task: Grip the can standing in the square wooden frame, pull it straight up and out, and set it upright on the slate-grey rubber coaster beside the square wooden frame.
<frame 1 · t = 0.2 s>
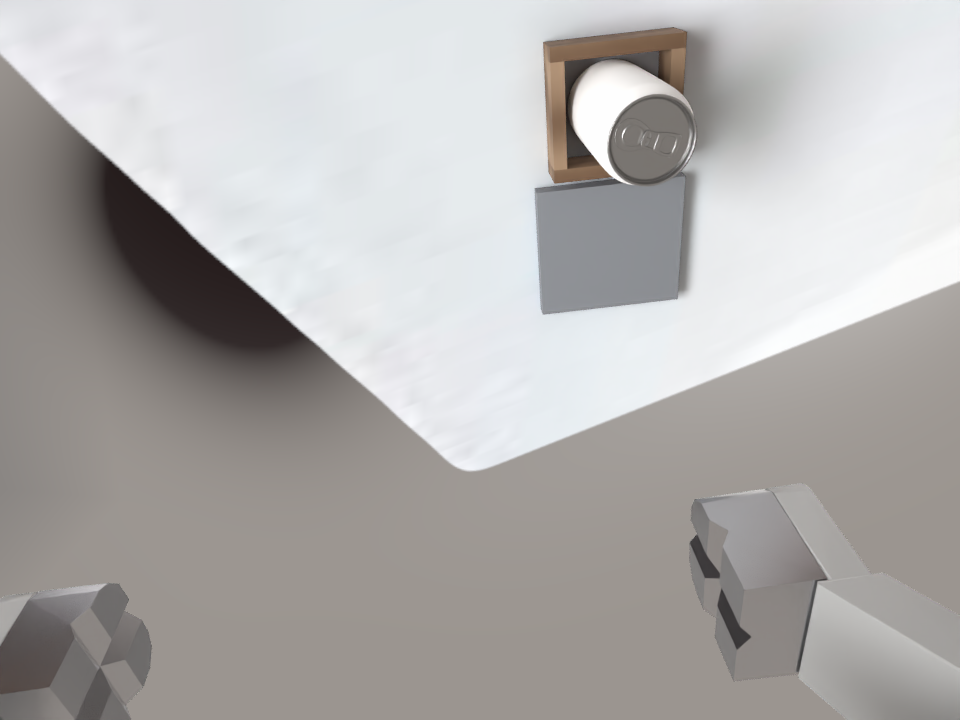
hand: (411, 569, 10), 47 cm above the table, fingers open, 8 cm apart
square wooden frame: (608, 103, 52), on the table
coaster: (607, 243, 58), on the table
can: (607, 102, 52), resting in square wooden frame
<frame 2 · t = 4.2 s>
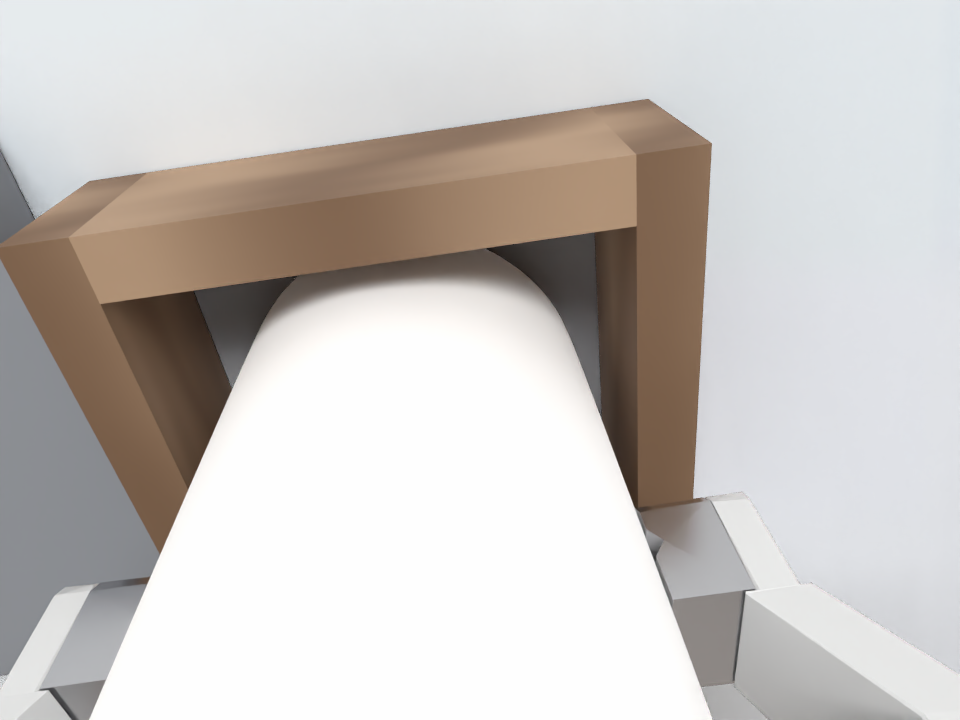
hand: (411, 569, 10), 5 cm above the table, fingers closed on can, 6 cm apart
square wooden frame: (417, 374, 14), on the table
can: (417, 369, 14), resting in square wooden frame, touching gripper
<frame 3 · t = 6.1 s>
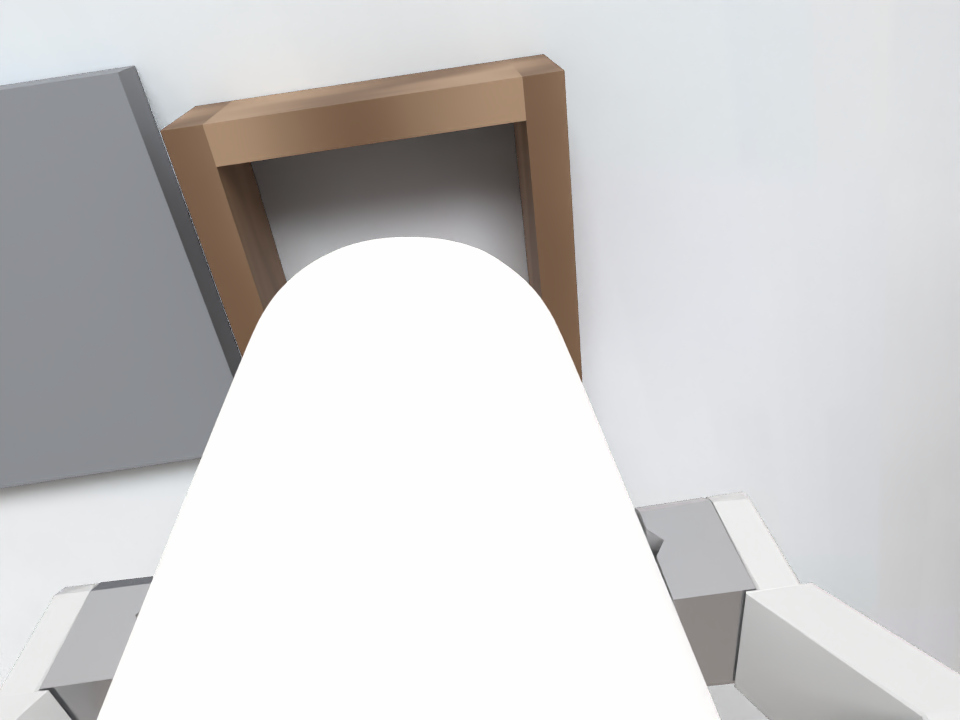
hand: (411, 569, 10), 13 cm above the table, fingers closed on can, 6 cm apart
square wooden frame: (402, 244, 21), on the table
coaster: (33, 300, 21), on the table
can: (410, 368, 14), point 8 cm above the table, touching gripper
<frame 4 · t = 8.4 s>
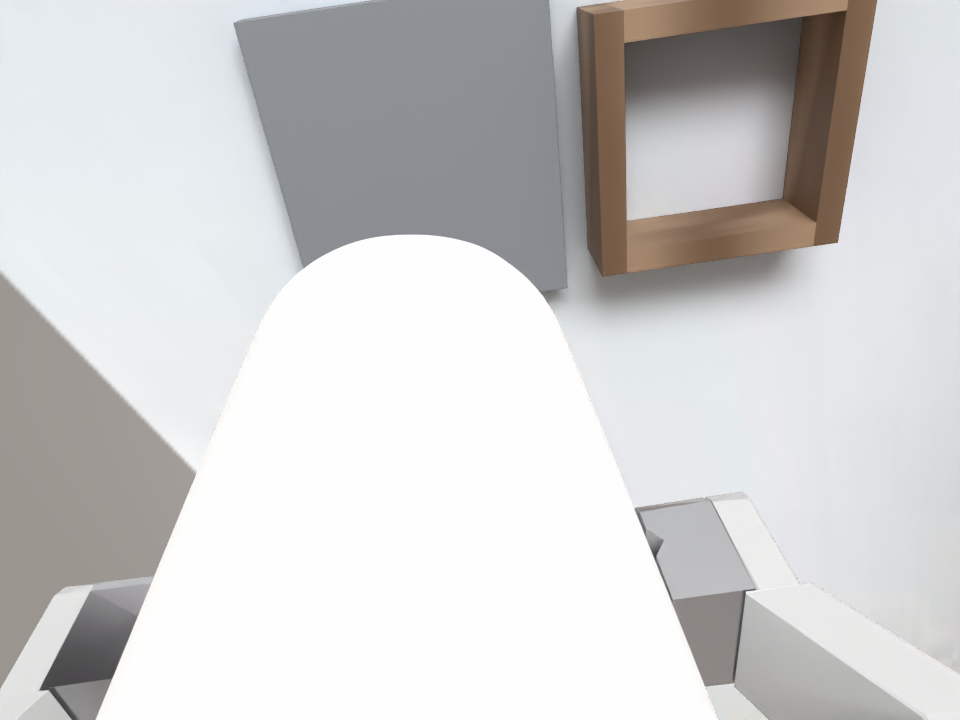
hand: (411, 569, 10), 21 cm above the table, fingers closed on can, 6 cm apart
square wooden frame: (700, 121, 28), on the table
coaster: (420, 162, 28), on the table
can: (413, 365, 15), point 16 cm above the table, touching gripper
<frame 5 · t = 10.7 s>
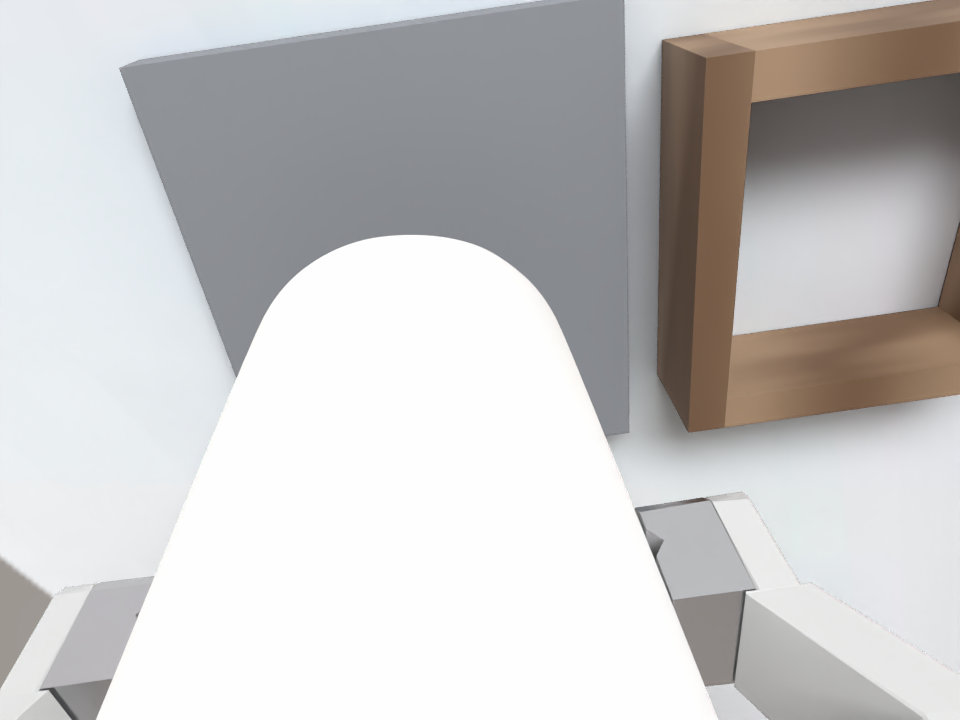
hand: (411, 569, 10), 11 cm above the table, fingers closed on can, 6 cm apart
square wooden frame: (832, 204, 19), on the table
coaster: (419, 263, 19), on the table
can: (412, 365, 15), point 5 cm above the table, touching gripper
when the fingers open (7 cm above the table, at t = 12.7 s): can stays where it is, resting on coaster.
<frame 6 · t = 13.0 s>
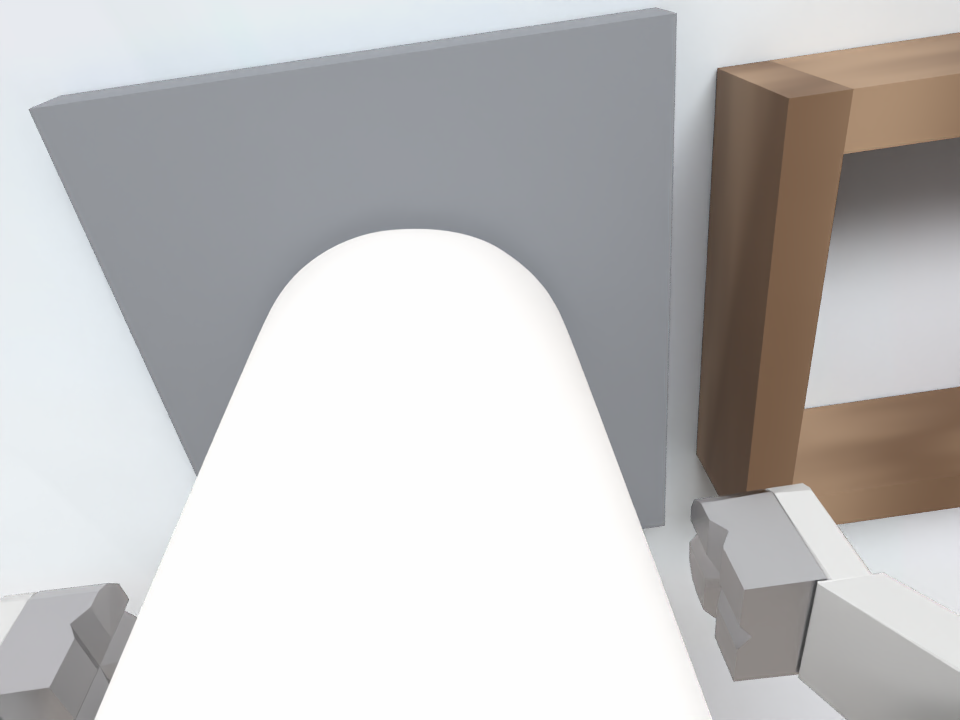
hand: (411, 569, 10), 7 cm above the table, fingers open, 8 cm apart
square wooden frame: (914, 262, 15), on the table
coaster: (415, 334, 16), on the table
can: (417, 358, 15), point 1 cm above the table, touching coaster
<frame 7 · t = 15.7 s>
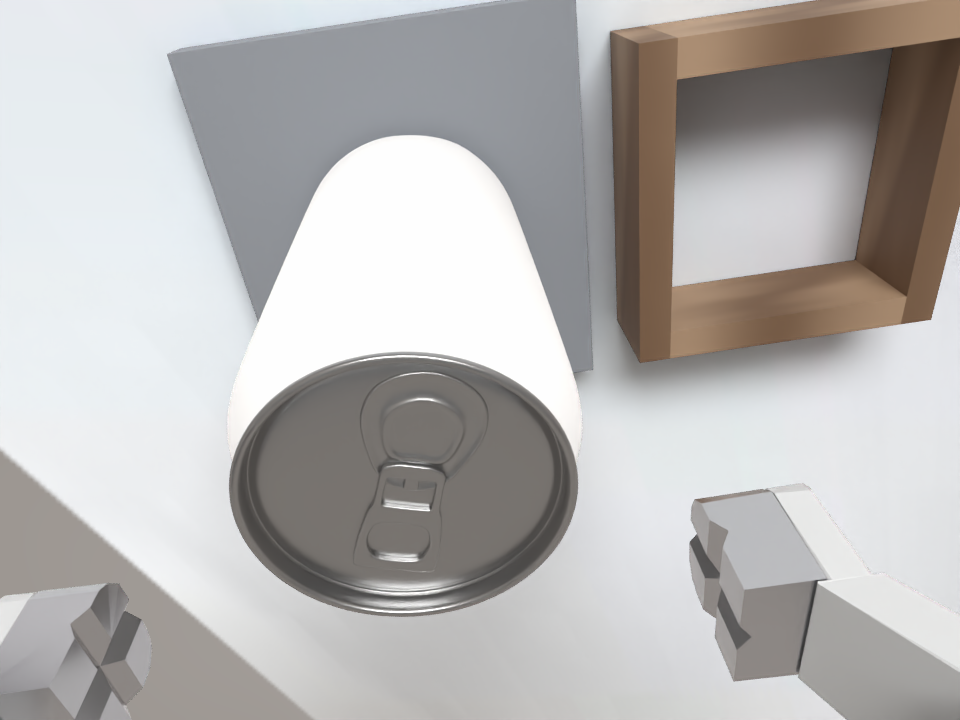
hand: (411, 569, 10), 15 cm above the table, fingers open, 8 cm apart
square wooden frame: (759, 170, 22), on the table
coaster: (411, 222, 22), on the table
can: (413, 233, 21), point 1 cm above the table, touching coaster
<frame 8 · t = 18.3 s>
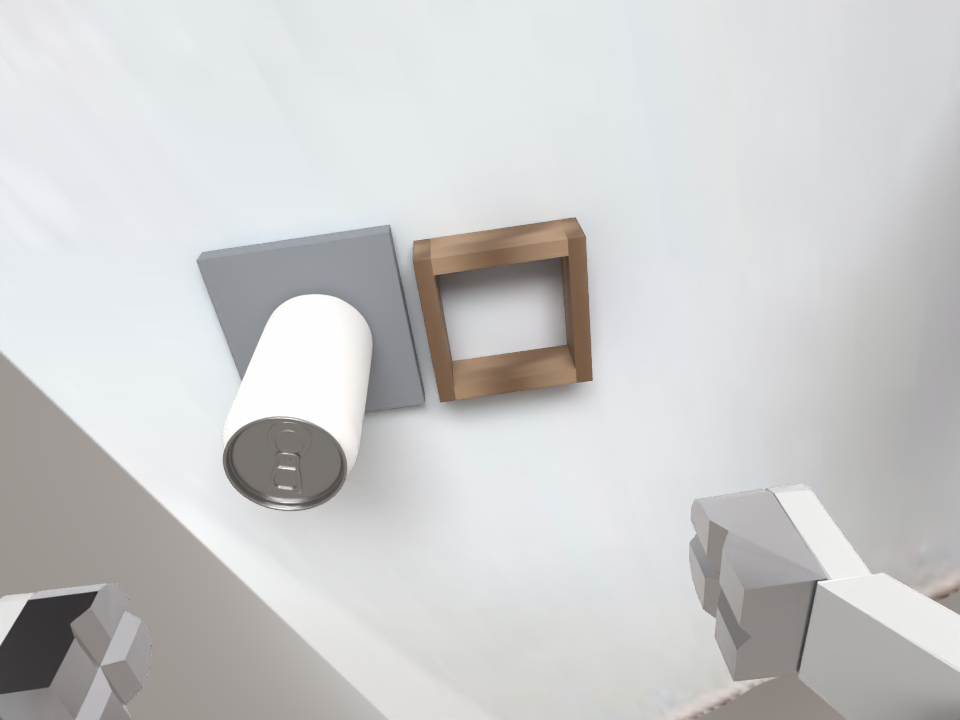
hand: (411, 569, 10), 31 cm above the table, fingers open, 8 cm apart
square wooden frame: (503, 301, 42), on the table
coaster: (321, 328, 43), on the table
can: (320, 336, 42), point 1 cm above the table, touching coaster
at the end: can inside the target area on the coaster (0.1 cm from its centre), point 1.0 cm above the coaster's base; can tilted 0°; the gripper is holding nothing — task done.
